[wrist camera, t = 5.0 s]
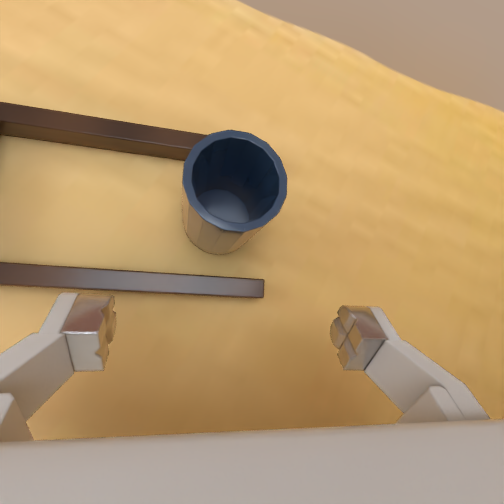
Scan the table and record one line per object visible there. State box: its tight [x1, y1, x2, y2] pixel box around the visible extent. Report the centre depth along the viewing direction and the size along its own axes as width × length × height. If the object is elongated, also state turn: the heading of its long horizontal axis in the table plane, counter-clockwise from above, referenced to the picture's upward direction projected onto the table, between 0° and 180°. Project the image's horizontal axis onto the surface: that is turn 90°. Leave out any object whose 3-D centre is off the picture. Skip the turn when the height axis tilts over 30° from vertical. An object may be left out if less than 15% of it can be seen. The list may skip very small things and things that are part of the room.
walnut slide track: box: [0, 102, 264, 298], centre depth 19 cm, size 18×10×2 cm, turn 87°
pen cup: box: [182, 130, 287, 255], centre depth 17 cm, size 5×5×8 cm
